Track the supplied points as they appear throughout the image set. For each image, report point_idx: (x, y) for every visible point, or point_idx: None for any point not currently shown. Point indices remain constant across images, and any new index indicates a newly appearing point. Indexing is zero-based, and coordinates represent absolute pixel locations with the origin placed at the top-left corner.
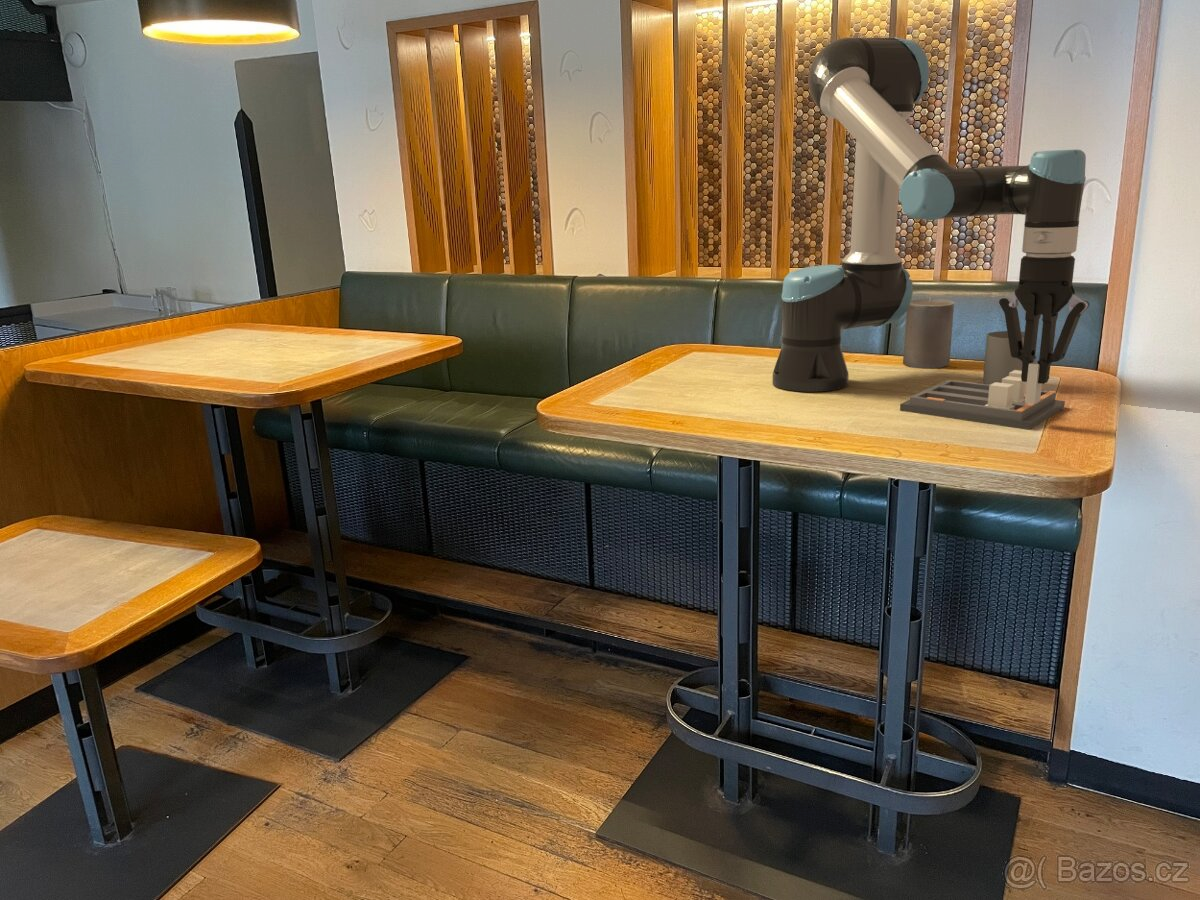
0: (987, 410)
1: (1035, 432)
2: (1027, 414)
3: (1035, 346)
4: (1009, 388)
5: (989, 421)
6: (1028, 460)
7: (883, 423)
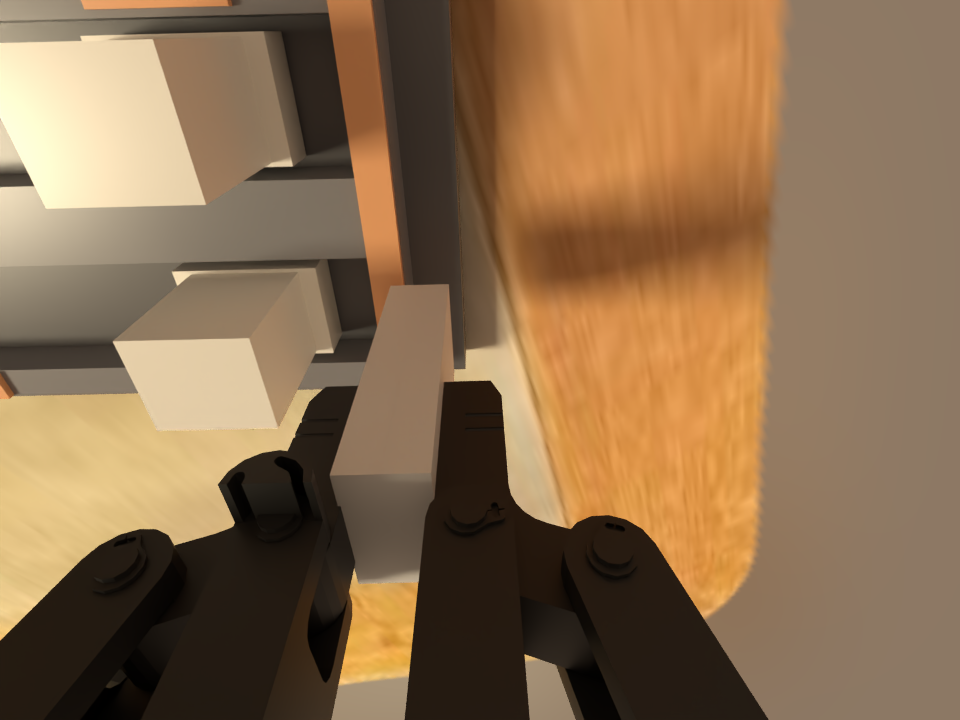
0: None
1: (499, 369)
2: None
3: (288, 673)
4: (275, 396)
5: None
6: None
7: (43, 526)
